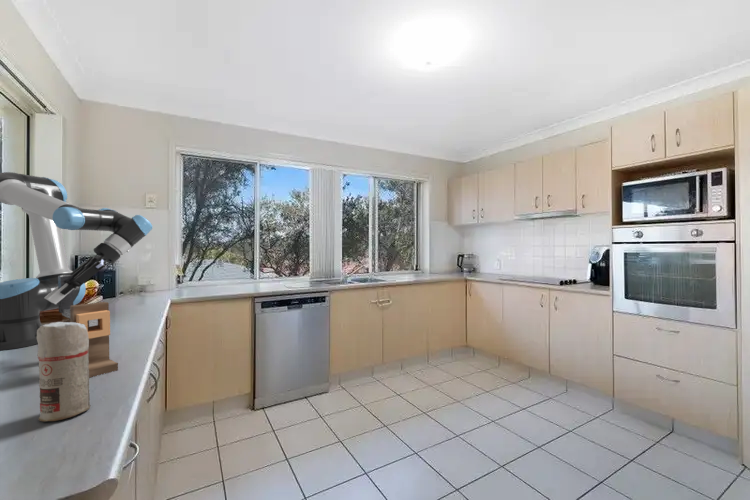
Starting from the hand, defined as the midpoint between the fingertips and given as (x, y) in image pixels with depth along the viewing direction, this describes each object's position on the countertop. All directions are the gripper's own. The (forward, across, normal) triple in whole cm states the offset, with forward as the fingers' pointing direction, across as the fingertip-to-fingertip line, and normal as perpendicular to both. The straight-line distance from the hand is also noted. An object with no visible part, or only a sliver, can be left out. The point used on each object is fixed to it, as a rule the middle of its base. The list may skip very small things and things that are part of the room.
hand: (49, 300), depth 107 cm
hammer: (+1, -12, -6) cm, 14 cm away
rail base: (+10, -16, -16) cm, 25 cm away
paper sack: (+18, -52, -7) cm, 55 cm away
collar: (+3, -26, -9) cm, 28 cm away
